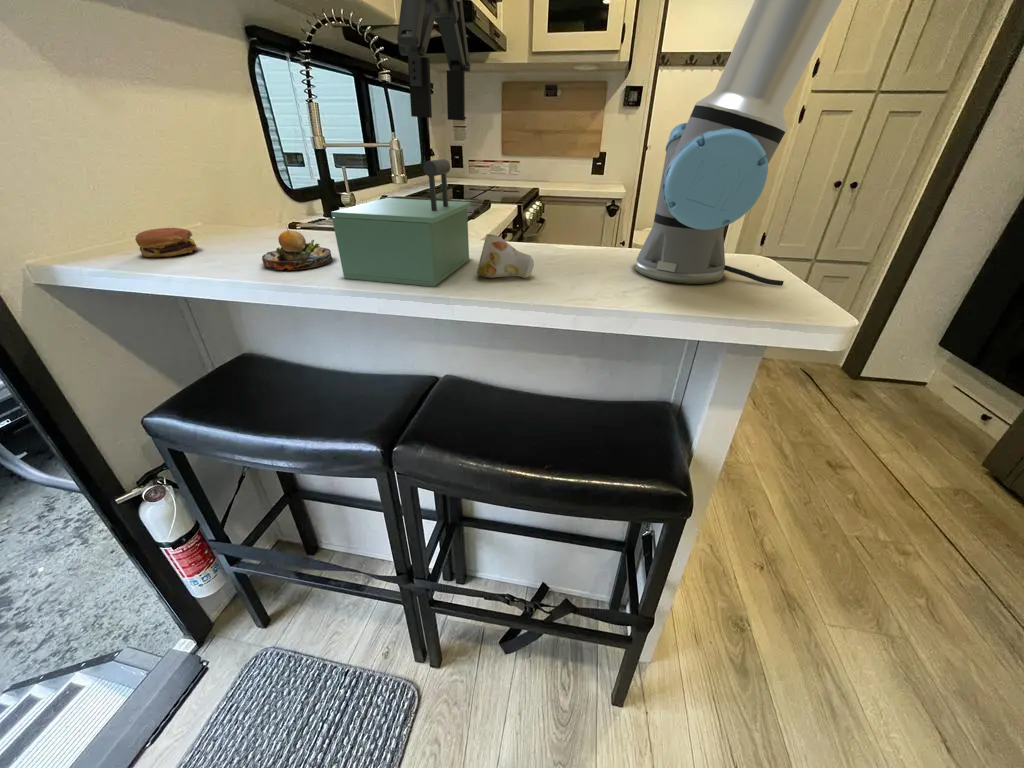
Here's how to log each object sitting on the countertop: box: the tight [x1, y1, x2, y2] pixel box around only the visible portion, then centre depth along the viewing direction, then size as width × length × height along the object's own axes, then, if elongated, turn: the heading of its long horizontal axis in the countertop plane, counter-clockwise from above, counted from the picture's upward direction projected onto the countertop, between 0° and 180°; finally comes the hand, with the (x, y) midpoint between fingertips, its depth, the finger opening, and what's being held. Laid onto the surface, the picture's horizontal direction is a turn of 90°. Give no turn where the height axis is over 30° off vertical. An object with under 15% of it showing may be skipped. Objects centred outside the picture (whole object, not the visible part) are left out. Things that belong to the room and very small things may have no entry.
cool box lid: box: [330, 158, 472, 223], centre depth 69 cm, size 17×18×8 cm
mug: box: [476, 233, 535, 279], centre depth 71 cm, size 8×10×10 cm
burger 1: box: [134, 227, 199, 258], centre depth 82 cm, size 10×9×5 cm
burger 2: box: [261, 224, 334, 271], centre depth 77 cm, size 12×12×8 cm
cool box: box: [331, 208, 470, 287], centre depth 74 cm, size 17×18×10 cm
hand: (440, 119), depth 63 cm, fingers open, 13 cm apart
